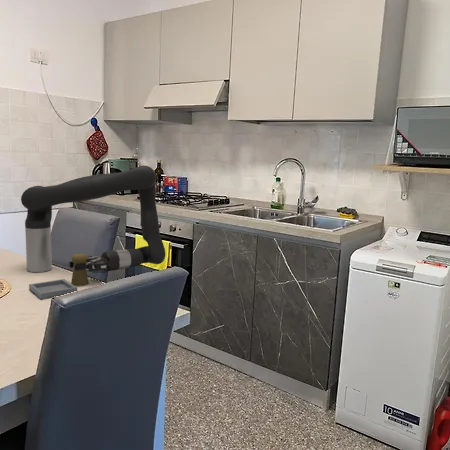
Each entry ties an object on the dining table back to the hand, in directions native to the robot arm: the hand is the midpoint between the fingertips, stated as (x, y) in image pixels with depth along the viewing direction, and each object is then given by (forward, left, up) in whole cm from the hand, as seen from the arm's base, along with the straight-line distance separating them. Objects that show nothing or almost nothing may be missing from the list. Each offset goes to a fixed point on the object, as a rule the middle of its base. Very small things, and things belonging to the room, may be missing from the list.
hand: (72, 266), depth 158 cm
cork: (0, +3, -7) cm, 8 cm away
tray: (+4, -8, -7) cm, 11 cm away
